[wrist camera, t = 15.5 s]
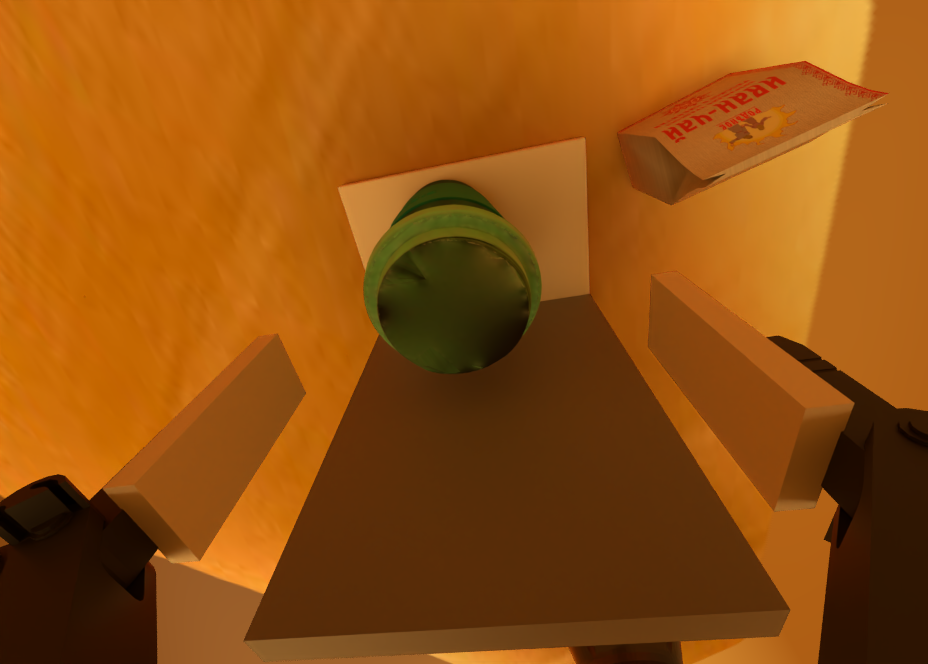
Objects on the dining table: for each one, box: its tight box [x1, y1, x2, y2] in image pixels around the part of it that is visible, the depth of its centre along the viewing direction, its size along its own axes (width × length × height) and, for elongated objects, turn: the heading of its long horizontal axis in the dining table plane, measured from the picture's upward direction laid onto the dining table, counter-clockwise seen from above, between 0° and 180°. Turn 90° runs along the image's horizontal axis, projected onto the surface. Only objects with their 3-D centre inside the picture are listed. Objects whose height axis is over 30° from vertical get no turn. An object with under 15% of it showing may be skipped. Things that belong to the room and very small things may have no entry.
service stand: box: [244, 137, 790, 662], centre depth 19 cm, size 12×16×22 cm
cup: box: [363, 180, 542, 374], centre depth 21 cm, size 8×8×12 cm
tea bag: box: [617, 61, 888, 205], centre depth 20 cm, size 4×7×10 cm, turn 117°
